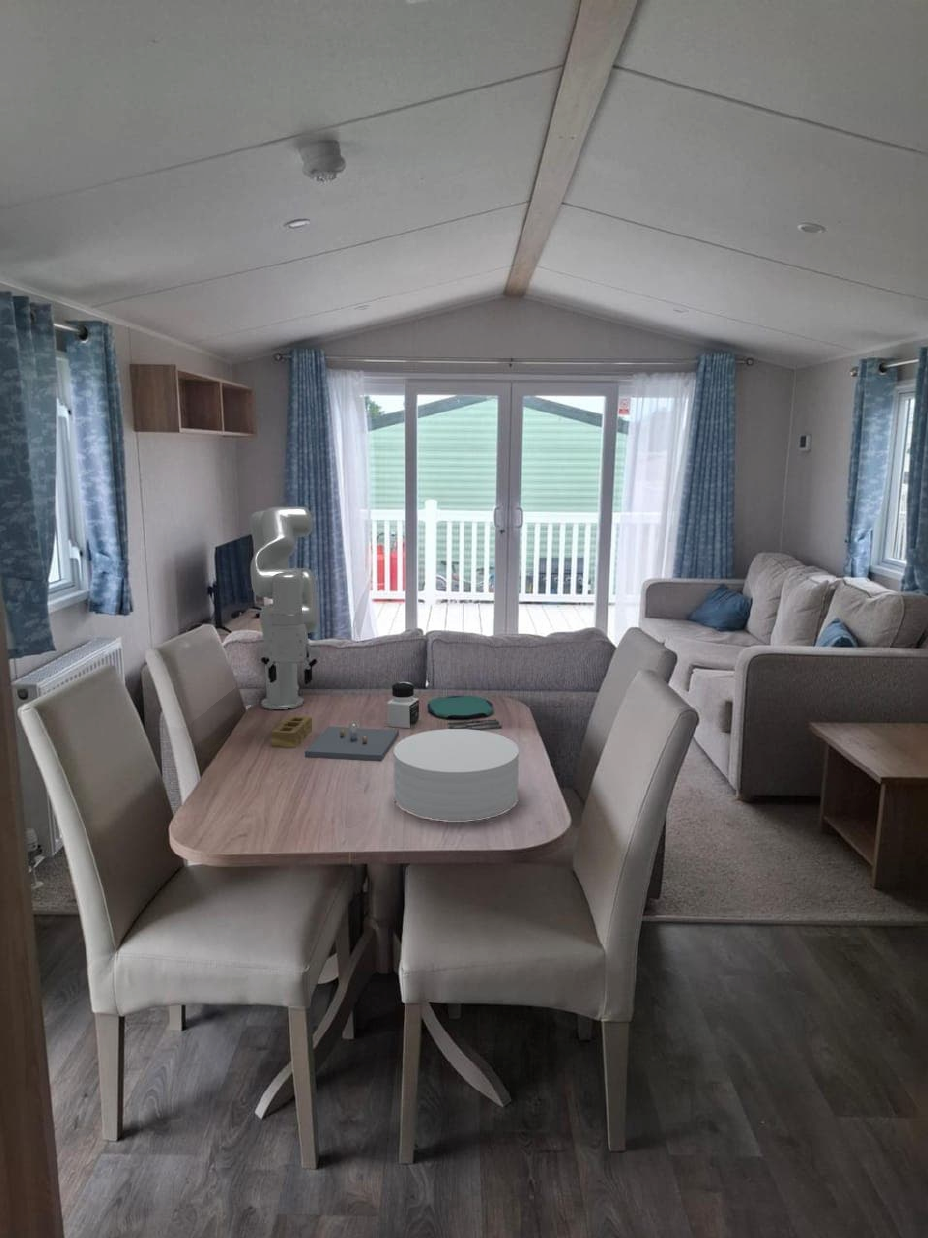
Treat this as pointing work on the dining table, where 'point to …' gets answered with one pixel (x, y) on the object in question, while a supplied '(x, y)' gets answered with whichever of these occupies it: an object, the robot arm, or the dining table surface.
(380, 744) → the slate board
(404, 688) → the medicine bottle
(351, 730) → the pegs
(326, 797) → the dining table surface
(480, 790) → the plate stack
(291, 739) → the tan slatted rectangular block
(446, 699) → the cutlery set
